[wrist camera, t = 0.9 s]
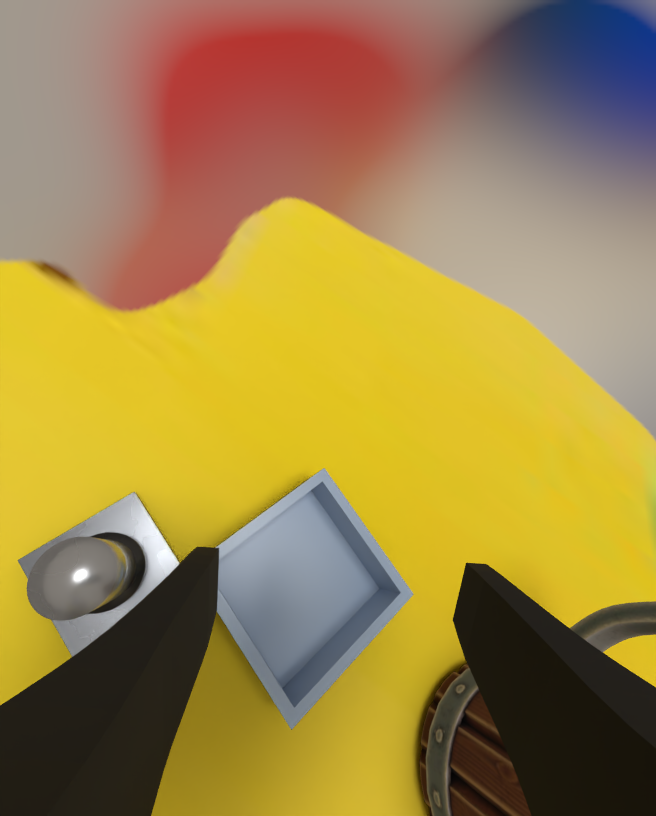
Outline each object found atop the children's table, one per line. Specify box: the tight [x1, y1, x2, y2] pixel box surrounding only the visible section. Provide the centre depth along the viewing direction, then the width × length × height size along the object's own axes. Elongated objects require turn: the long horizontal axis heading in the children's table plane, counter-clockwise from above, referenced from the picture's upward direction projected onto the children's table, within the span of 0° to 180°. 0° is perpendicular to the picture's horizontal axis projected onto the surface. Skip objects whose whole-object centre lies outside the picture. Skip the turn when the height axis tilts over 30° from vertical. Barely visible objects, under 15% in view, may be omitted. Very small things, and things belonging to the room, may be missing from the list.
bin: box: [215, 468, 413, 730], centre depth 22 cm, size 9×9×4 cm
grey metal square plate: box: [18, 492, 180, 657], centre depth 20 cm, size 6×6×1 cm
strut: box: [27, 532, 147, 621], centre depth 17 cm, size 4×4×6 cm
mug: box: [420, 602, 656, 816], centre depth 18 cm, size 16×11×15 cm
